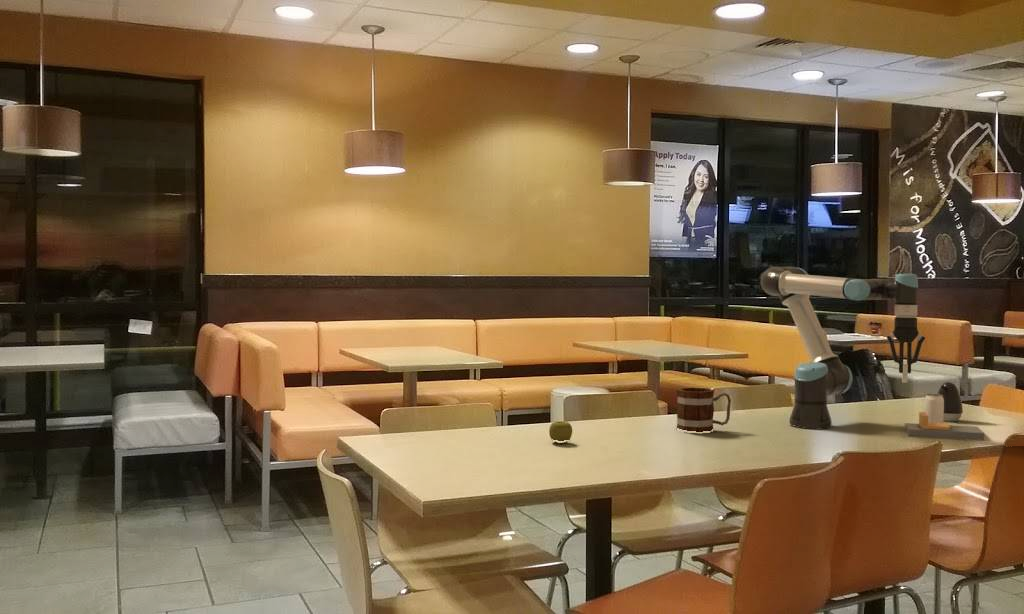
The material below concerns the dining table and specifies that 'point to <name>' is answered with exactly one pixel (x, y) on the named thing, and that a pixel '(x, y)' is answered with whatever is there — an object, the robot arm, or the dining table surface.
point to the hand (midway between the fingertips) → (904, 382)
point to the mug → (698, 409)
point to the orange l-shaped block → (931, 423)
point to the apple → (560, 431)
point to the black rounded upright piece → (951, 402)
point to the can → (934, 408)
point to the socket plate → (945, 432)
